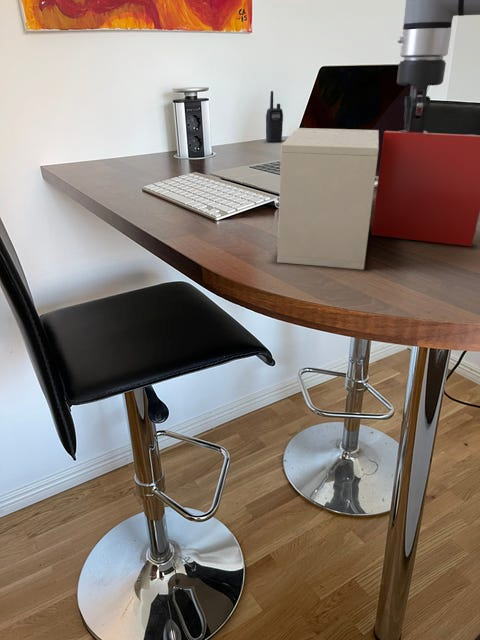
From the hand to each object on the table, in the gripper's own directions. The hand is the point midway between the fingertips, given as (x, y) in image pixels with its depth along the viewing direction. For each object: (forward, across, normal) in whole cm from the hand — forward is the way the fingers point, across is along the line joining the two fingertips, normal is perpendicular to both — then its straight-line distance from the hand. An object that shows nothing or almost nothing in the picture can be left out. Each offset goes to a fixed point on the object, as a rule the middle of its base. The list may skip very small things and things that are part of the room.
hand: (404, 197), depth 94 cm
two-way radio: (+1, -68, -38) cm, 78 cm away
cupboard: (+2, +26, -12) cm, 29 cm away
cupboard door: (+2, +17, +2) cm, 17 cm away
